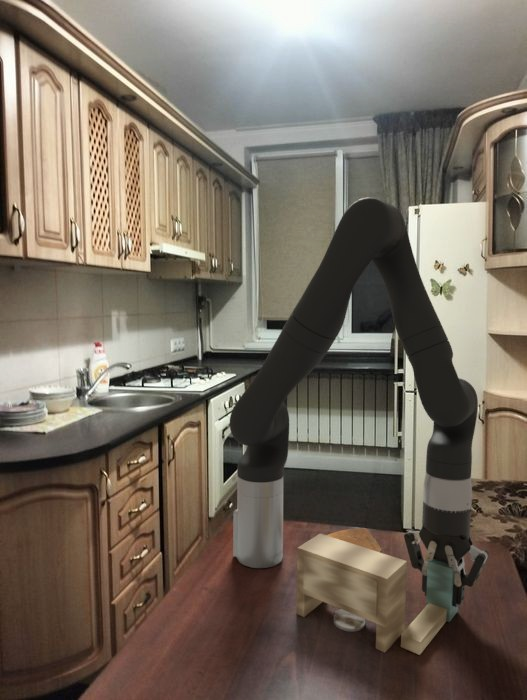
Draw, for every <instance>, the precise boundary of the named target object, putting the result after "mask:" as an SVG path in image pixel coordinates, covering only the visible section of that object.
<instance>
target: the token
mask: <svg viewBox="0 0 527 700" xmlns="http://www.w3.org/2000/svg"><path fill="white" fill-rule="evenodd" d="M365 623H366V619H364V618H362V617H359V616H357V615H354V614H352V613H350V612H347V611H345V610H342V609H340V608H338V609H337V610H336V611H335V612H334V613H333V624H334V626H335V627H336V628H337V629H339V630H342V631H345V632H353V633H354V632H358V631H361V630H363V629H364V627H365V625H366V624H365Z"/></svg>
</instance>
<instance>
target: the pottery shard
mask: <svg viewBox="0 0 527 700" xmlns="http://www.w3.org/2000/svg"><path fill="white" fill-rule="evenodd" d="M326 535H327V536H330V537H333V538H336V539H339V540H342V541H345V542H349V543H352V544H355V545H358V546H361V547H364V548H367V549H370V550H374V551H377V552H380V553H382V548H381V546H380V545H379V543H378V541H377V540H376V539H375V538H374V536H373V534H371V533H370V531H369V530H367V528H365V527H362V528H350V529H343V530H338V531H334V532H331V533H329V534H326Z"/></svg>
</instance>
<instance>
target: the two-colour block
mask: <svg viewBox="0 0 527 700" xmlns="http://www.w3.org/2000/svg"><path fill="white" fill-rule="evenodd" d="M453 585H454V580H453V568H450V567H449V564H448V563H446V562H444V561H442V560H436V559H433V561H432V562H430V561H428V570H427V593H426V596H425V598H426V599H425V607H424V608H423V609H422V610H421V612H420V613H419V614H418V615H417V616H416V617H415V618H414V620H413V621H411V623H410V624H409V625H408V626H407V627H405V631H404V632H403V633H402V634H401V635H400V648H402V649H405V650H406V651H409V652H412V653H414V654H417V655H419V656H420V655H421V654H422V653H423V652H424V650H425V649H426V647H428V645H429V644H430V643H431V641H432V640H433V639H434V638H435V636H436V635H437V634H438V632H439V631H440V630H441V628H443V626H444V625H445V624H446V622H448V623H450V622H451V621H452V619H453V618H454V617H455V615H456V614H457V613H458V612H459V605H458V606H457V607H454V606H452V597H453Z"/></svg>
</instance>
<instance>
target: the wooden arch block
mask: <svg viewBox="0 0 527 700" xmlns="http://www.w3.org/2000/svg"><path fill="white" fill-rule="evenodd" d="M327 535H328V534H324V533H319V534H317V535H316V536H314V537H312V538H310V539H309V540H308V541H306V542H304V543H303V544H301V545H299V546H298V547H297V552H296V555H297V557H296V563H297V564H296V565H297V566H296V615H299V617H300V616H301V617H303V618H305V617H306V616H308V615H309V614H310V613H312V611H313V610H315V609H316V608H318V606H319V605H321V604H322V603H325V604H328V605H329V606H333V607H336V608H338V609H342V610H345V611H347V612H350V613H352V614H354V615H357V616H359V617H362V618H364V619H365V620H367V621H369V622H372V623H374V624H376V626H375V627H376V630H375V632H376V633H375V649H376V650H378V651H380V652H381V653H386V652H387V651H388V650H389V649H390V648H391V647H392V645H393V644H394V643H395V642H396V641H397V640H398V639H399V638H400V637H401V634H402V633H403V632H404V631H405V630H406V596H407V595H406V594H407V574H408V573H407V571H408V570H407V566H408V564H407V563H408V561H407V560H404V559H401V558H398V557H396V556H392V555H388V554H386V553H383V552H377V551H374V550H370V549H367V548H364V547H361V546H358V545H355V544H352V543H349V542H345V541H342V540H339V539H336V538H333V537H330V536H327Z"/></svg>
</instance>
